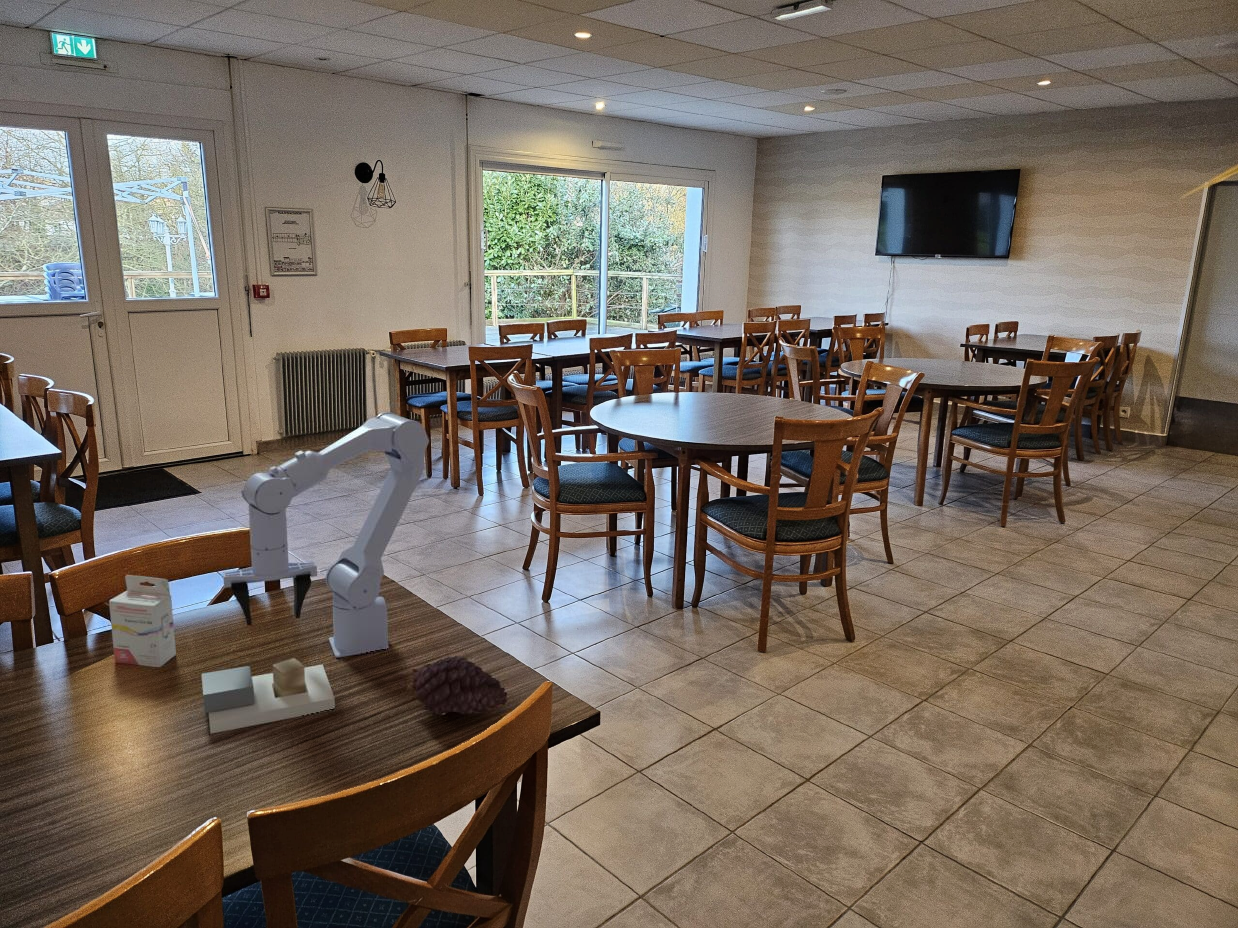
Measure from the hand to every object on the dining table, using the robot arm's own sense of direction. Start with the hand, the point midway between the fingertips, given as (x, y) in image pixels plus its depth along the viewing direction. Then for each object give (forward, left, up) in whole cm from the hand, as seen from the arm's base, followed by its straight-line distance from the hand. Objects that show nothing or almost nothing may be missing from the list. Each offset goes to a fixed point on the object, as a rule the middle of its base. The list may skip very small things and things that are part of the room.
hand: (273, 619), depth 144 cm
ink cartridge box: (+20, -12, -10) cm, 25 cm away
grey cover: (+8, +11, -7) cm, 16 cm away
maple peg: (-1, +11, -10) cm, 14 cm away
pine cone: (-24, +26, -10) cm, 37 cm away
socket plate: (+2, +11, -9) cm, 15 cm away
